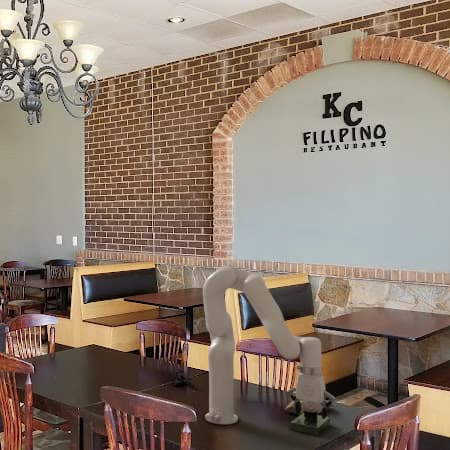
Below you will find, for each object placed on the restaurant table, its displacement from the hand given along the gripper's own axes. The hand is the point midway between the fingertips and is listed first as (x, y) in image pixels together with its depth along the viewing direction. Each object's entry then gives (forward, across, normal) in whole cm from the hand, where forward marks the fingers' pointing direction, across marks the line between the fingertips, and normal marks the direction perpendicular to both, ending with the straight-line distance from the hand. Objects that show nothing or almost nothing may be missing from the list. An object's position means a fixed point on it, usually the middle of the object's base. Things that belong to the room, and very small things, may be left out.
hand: (311, 415), depth 233 cm
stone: (+5, -7, +19) cm, 21 cm away
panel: (+5, 0, 0) cm, 5 cm away
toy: (+4, -69, +22) cm, 73 cm away
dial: (+2, 0, 0) cm, 2 cm away
